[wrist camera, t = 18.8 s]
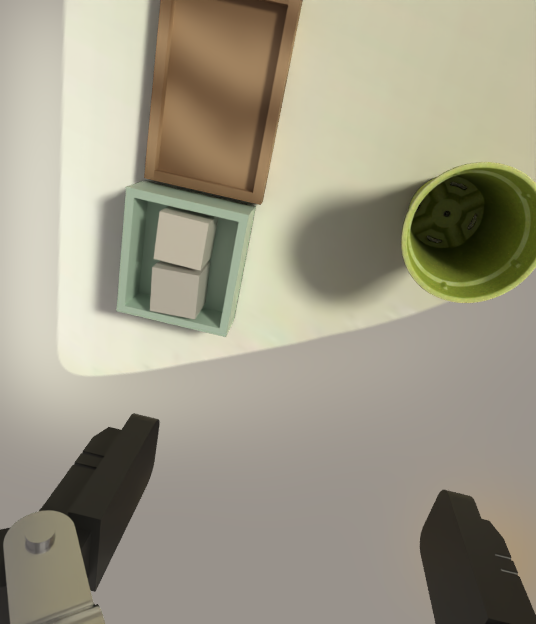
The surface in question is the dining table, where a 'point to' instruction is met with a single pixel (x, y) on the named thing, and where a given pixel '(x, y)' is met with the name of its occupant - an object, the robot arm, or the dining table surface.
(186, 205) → the bin
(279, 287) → the dining table surface
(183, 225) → the stone
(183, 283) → the stone
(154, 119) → the tray
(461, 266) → the plant pot
